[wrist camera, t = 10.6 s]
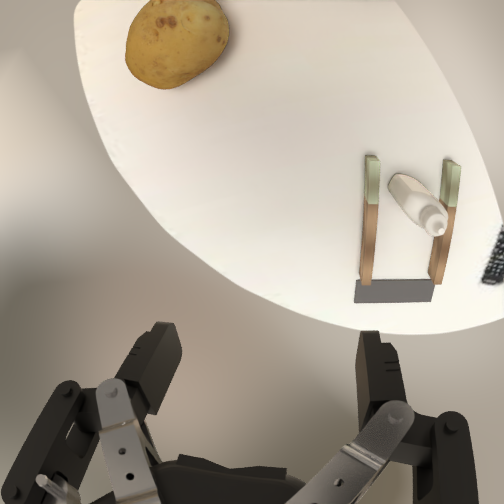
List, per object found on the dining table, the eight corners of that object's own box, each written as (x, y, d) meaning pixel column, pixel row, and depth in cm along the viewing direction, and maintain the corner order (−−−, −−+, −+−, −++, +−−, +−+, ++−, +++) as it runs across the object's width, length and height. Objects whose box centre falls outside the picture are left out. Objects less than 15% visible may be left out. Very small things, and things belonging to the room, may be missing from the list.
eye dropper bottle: (411, 162, 34) (449, 194, 24) (431, 199, 36) (469, 243, 26) (383, 180, 36) (409, 219, 26) (403, 216, 38) (432, 265, 27)
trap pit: (356, 279, 43) (356, 280, 43) (435, 279, 41) (436, 280, 41) (354, 301, 45) (354, 303, 45) (430, 300, 43) (430, 301, 43)
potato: (133, 61, 34) (86, 60, 25) (193, -16, 28) (159, -41, 19) (191, 105, 36) (154, 113, 27) (258, 27, 30) (241, 7, 21)
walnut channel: (365, 155, 35) (369, 160, 33) (451, 160, 33) (461, 166, 30) (359, 273, 43) (361, 285, 40) (435, 272, 41) (441, 284, 38)
